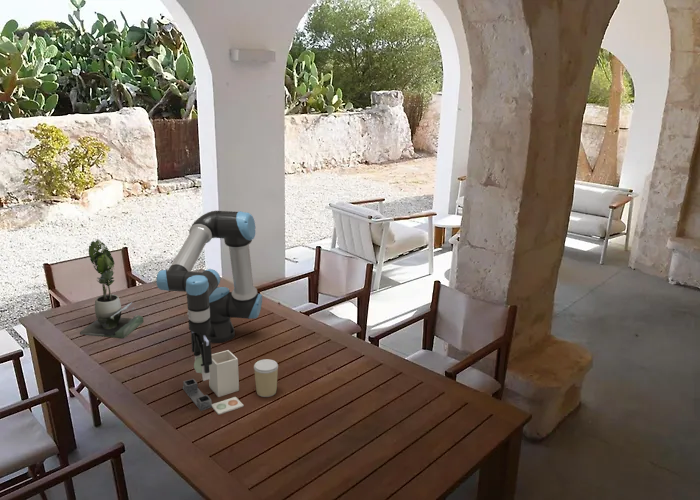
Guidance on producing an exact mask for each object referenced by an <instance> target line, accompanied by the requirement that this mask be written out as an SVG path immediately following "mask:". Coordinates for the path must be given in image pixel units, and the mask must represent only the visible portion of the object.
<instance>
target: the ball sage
mask: <svg viewBox="0 0 700 500" xmlns="http://www.w3.org/2000/svg"><path fill="white" fill-rule="evenodd" d="M201 364H203V363H202V357H199V358H197V359H196V361H195V360H194V363H193V368H194V370H195V372H196V371H197V372H198V373H197V374H202V366H201ZM210 367H211V365H210Z"/></svg>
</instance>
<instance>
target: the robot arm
mask: <svg viewBox="0 0 700 500" xmlns="http://www.w3.org/2000/svg"><path fill="white" fill-rule="evenodd" d="M188 233H189V234H188V236H187V238H186V240H185V241H184V243H183V244H182V246H181V248H180V250H179V251H178V253H177V255H176V256H175V258H174V260H172V263H171V265H170V266H169V268H168V269H161V270H159V271H158V273H157V274H156V277H155V278H156V279H155V280H156V286H157V288H158V289H159V290H160V291H167V292H184V293H186V302H187V312H186V315H187V317H188V329H189V330H190V341H191V352H192V353H193V356H194V362H195V361H196V359H197V358H199V357H202V363H203V364H201V366H202V373H201V375H202V382H204V381H209V379H210V365H211V364H212V346H211V345H212V343H213V344H217V343H219V344H220V343H224V342H228V341H230V340H232V339H233V338H235V335H236V333H235V328H234V325H233V323H232V320H231V318H235V319H246V320H247V319H248V320H249V319H250V320H251V319H253V320H255V319H257V318H258V317H259V316H260V313H261V310H262V305H263V304H262V303H263V295H262V294H261V293H258V289H257V287H255V286H254V279H253V272H252V262H251V261H252V260H251V251H250V244H252V241H253V240H254V239H255V236H256V222H255V218H254V217H253V215H252V214H251V213H250V212H246V211H245V212H244V211H239V210H238V211H228V210H212V211H208V212H206V213H204V214H202V215H201V216H200V217H198V218H197V219H196V220H194V222H193V223H192V224H191V226H190V228H189V231H188ZM212 239H224V245H225V246H226V247H228V250H229V258H230V266H231V273H232V274H231V275H232V281H233V289H232V291H230V289H229V287H226V286H219V285H220V283H221V275H220V274H219V273H218V271H217V270H215V269H211V268H207V269H206V270H203V271H202V272H201V271H192V270H193V268H194V267H195V265H196V262H197V261H198V259H199V257H200V255H201V253H202V251H203V250H204V248H205V247H206V244H207V243H209V242H211V240H212ZM195 373H197V374H199V373H198V372H197V371H196V370H195Z"/></svg>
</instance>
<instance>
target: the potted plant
mask: <svg viewBox="0 0 700 500" xmlns="http://www.w3.org/2000/svg"><path fill="white" fill-rule="evenodd" d="M88 256H89V260H90V262H91V264H92V265H93V268H94V270H95V271H96V272H97V273H98V274H99V275H100V277H96V281H97V282H98V283H99V284H101V285H102V294H103V295H99V296H97V297H96V298H95V299H94V313H95V318H96V320H95V321H93V322H92V323H90V324H89V325H87V327H85V328H83V329H81V331H80V332H79V333H80V335H82V334H85V336H95V337H103V336H104V338H115V339H125V338H126V337H127V336H129V335H130V334H131V333H133V332H134V331H135V330H136V329H137V328H138V327H139V326H141V325H142V324H143V323H144V316H141V314H140V315H138V314H135V315H134V316H133V317H132V318H129V317H121V316H122V312H123V311H126V310H127V309H129V307H130V306H132V304H133V301H132V302H130V303H128V304H127V305H125V306H124V307H123V308H122V303H121V299H120V297H119V295H117V294H113V293H111V287H110V286H111V285H112V284H113V283H114V282H115V280H114V279H115V277H113V275H114V270H115V265H116V264H115V260H114V258H113V256H112V253H111V251H110V250H109V248H108V246H107V245H106V243H104V242H102V241H101V240H100V239H98V238H97V239H96V240H94V241H93V240H92V241H91V242H90V245H89V246H88ZM107 291H108V294H107ZM134 309H135V307H132V308H131V310H132V311H133V310H134Z"/></svg>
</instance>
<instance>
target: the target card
mask: <svg viewBox="0 0 700 500" xmlns="http://www.w3.org/2000/svg"><path fill="white" fill-rule="evenodd" d="M243 407H245V406H244V404H243V403H242V402H241V401H240V400H239V398H238V397H236V396H232V397H231V398H228V399H227V398H226V399H224V400H221V401H218V402H214V403H212V407H211V408H212V409H213V410H214V412H215V413H216V414H217V415H223V414H226V413H228V412H231V411H234V410H237V409H240V408H243Z"/></svg>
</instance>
